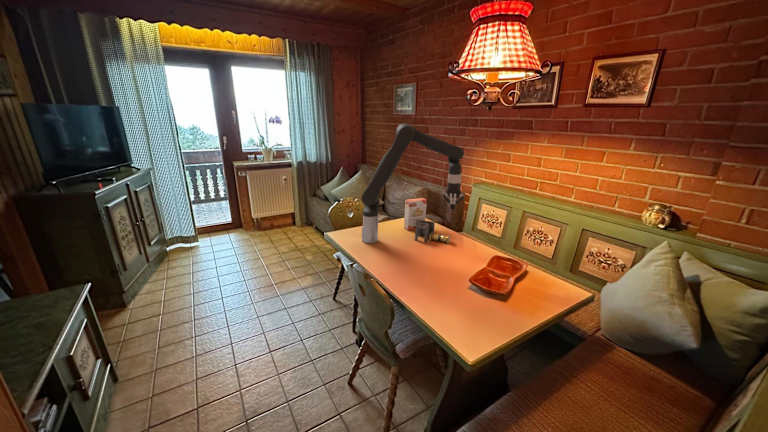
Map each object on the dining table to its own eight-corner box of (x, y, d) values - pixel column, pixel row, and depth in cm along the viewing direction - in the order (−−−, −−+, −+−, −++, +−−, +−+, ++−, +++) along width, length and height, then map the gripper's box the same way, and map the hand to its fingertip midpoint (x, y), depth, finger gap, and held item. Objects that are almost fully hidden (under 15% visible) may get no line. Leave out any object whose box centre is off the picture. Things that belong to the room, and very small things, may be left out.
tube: (429, 241, 187) (429, 234, 186) (430, 238, 191) (431, 231, 190) (448, 244, 183) (449, 237, 182) (449, 241, 187) (450, 234, 186)
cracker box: (407, 231, 203) (409, 201, 196) (403, 228, 208) (404, 199, 201) (425, 228, 209) (427, 199, 202) (420, 225, 214) (422, 197, 207)
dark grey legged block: (411, 239, 189) (412, 225, 185) (416, 233, 199) (416, 219, 196) (429, 242, 185) (431, 227, 182) (433, 236, 195) (434, 221, 192)
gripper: (441, 182, 172) (440, 210, 177) (465, 183, 167) (463, 212, 173) (443, 179, 178) (442, 207, 184) (466, 180, 174) (464, 209, 179)
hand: (452, 209), depth 178 cm, fingers closed
